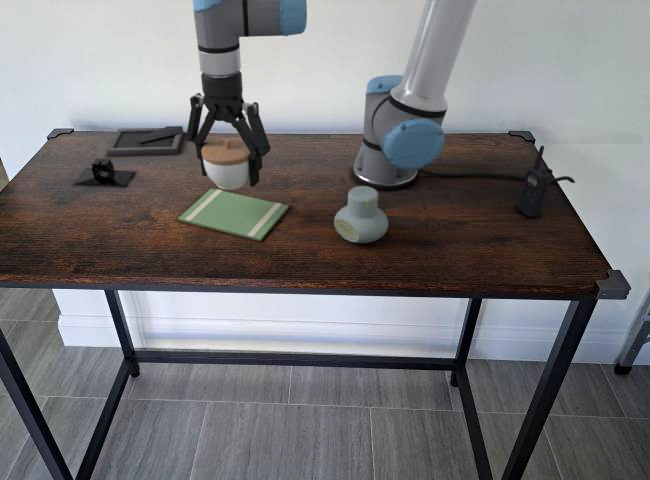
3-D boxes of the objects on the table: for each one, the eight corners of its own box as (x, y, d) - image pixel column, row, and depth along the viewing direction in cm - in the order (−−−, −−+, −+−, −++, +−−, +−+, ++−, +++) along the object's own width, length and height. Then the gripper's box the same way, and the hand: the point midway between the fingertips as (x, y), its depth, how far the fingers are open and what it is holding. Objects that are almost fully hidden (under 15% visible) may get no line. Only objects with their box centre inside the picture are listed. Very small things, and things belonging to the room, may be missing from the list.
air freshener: (393, 239, 114) (398, 196, 107) (364, 254, 110) (368, 211, 103) (355, 217, 120) (358, 175, 114) (327, 231, 116) (328, 189, 110)
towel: (288, 208, 124) (288, 205, 123) (260, 241, 114) (260, 238, 114) (211, 190, 130) (211, 187, 130) (178, 220, 121) (177, 217, 120)
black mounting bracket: (75, 185, 134) (70, 167, 131) (87, 170, 139) (82, 153, 136) (125, 186, 133) (120, 169, 130) (135, 172, 138) (131, 154, 135)
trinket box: (259, 171, 121) (257, 130, 115) (252, 196, 113) (249, 153, 107) (211, 169, 122) (206, 128, 116) (200, 194, 114) (194, 152, 108)
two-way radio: (513, 207, 122) (531, 143, 113) (530, 203, 123) (549, 139, 114) (530, 220, 118) (550, 155, 109) (547, 215, 119) (568, 151, 110)
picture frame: (183, 132, 156) (119, 134, 156) (182, 125, 154) (117, 127, 154) (176, 154, 145) (108, 155, 145) (175, 147, 144) (106, 148, 144)
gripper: (286, 73, 101) (288, 180, 115) (179, 58, 109) (192, 160, 123) (268, 86, 96) (272, 198, 110) (156, 69, 104) (174, 175, 118)
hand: (230, 178), depth 117 cm, fingers closed on trinket box, 11 cm apart
